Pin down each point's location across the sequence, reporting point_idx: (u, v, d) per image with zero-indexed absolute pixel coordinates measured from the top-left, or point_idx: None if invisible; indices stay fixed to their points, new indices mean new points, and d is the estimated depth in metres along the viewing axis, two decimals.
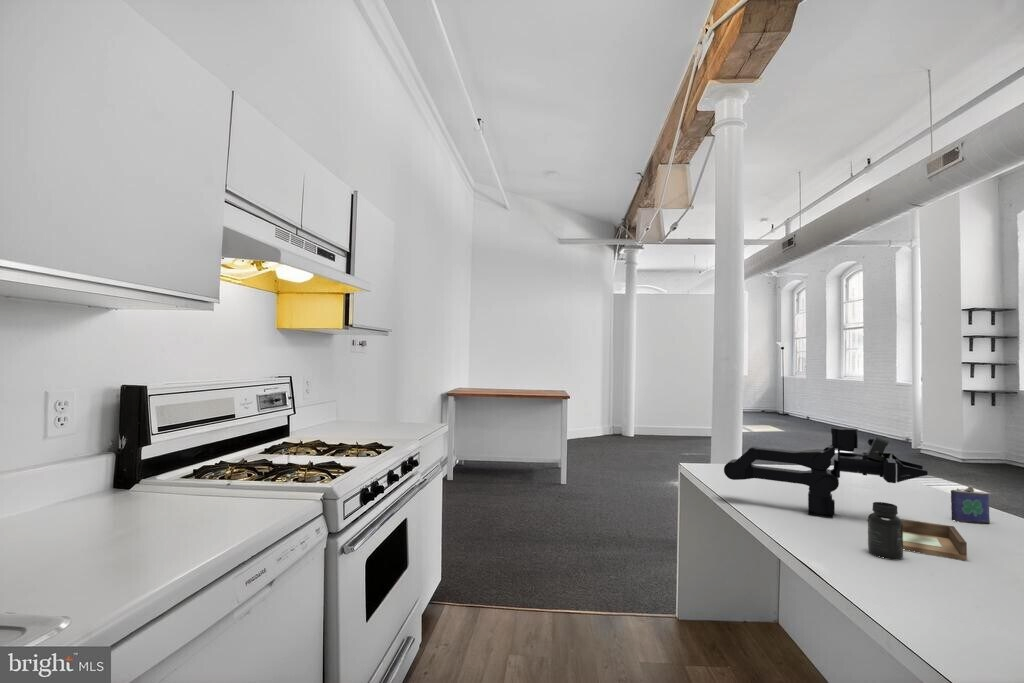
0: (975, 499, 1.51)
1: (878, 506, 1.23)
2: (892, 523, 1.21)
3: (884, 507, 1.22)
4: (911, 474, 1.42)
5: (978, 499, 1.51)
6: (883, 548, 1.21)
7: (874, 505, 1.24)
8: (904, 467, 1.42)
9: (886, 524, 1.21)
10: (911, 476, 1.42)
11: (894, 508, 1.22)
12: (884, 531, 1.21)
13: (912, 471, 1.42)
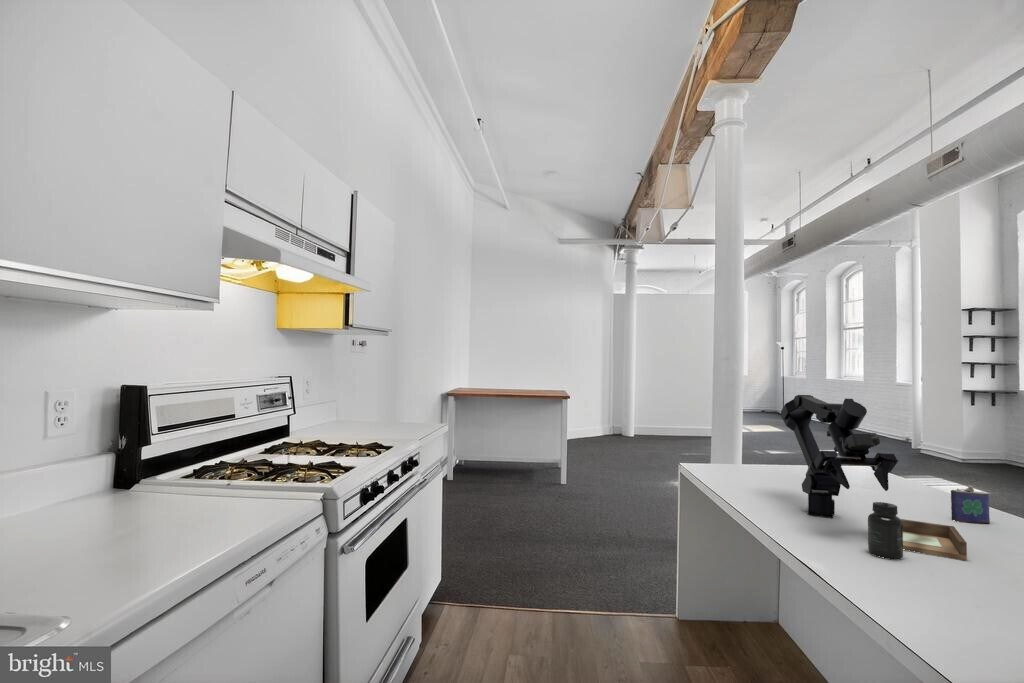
0: (975, 499, 1.51)
1: (878, 506, 1.23)
2: (892, 523, 1.21)
3: (884, 507, 1.22)
4: (837, 477, 1.36)
5: (978, 499, 1.51)
6: (883, 548, 1.21)
7: (874, 505, 1.24)
8: (835, 468, 1.36)
9: (886, 524, 1.21)
10: (836, 478, 1.37)
11: (894, 508, 1.22)
12: (884, 531, 1.21)
13: (839, 476, 1.35)
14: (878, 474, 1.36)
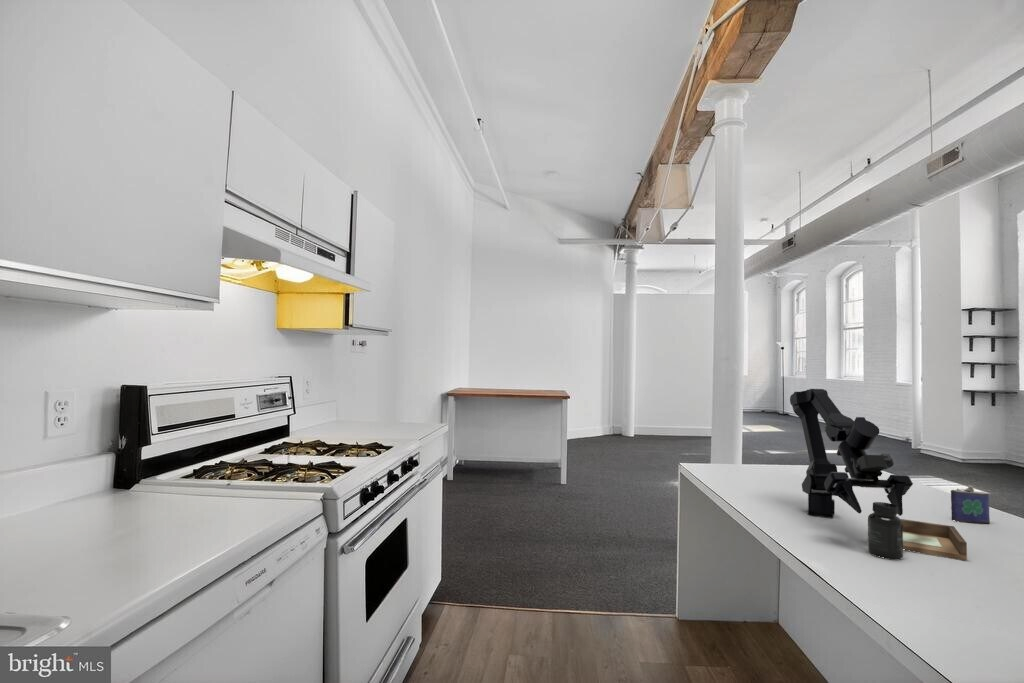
0: (975, 499, 1.51)
1: (878, 506, 1.23)
2: (892, 523, 1.21)
3: (884, 507, 1.22)
4: (848, 500, 1.30)
5: (978, 499, 1.51)
6: (883, 548, 1.21)
7: (874, 505, 1.24)
8: (846, 491, 1.30)
9: (886, 524, 1.21)
10: (847, 501, 1.30)
11: (894, 508, 1.22)
12: (884, 531, 1.21)
13: (850, 499, 1.29)
14: (891, 497, 1.30)
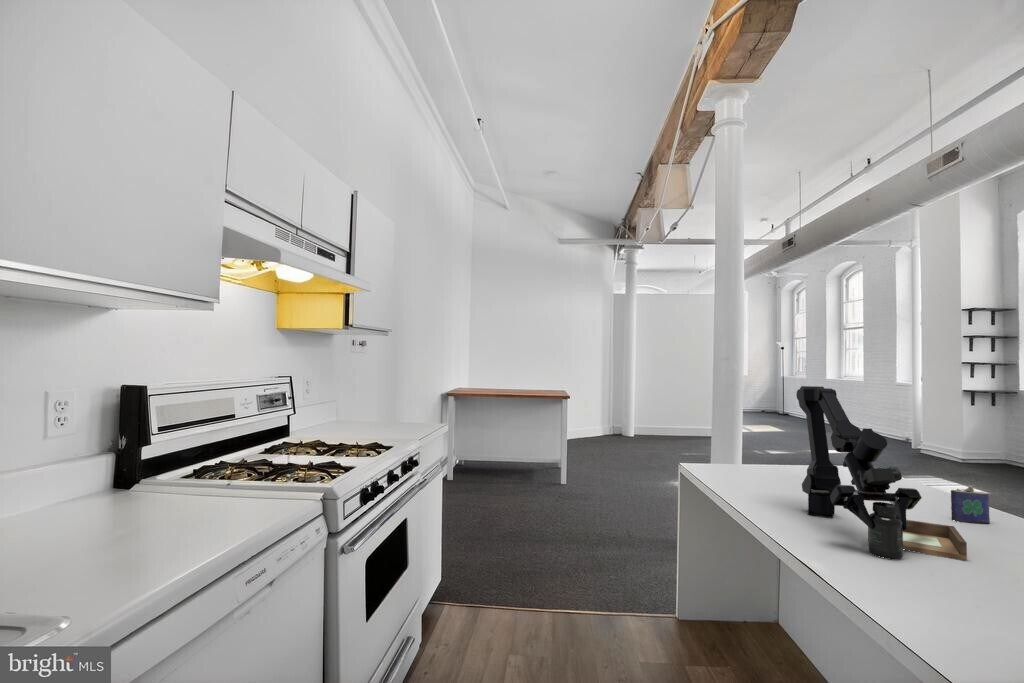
0: (975, 499, 1.51)
1: (878, 506, 1.23)
2: (892, 522, 1.21)
3: (884, 507, 1.22)
4: (859, 515, 1.26)
5: (978, 499, 1.51)
6: (883, 548, 1.21)
7: (874, 505, 1.24)
8: (857, 505, 1.26)
9: (886, 524, 1.21)
10: (858, 516, 1.27)
11: (894, 508, 1.22)
12: (884, 531, 1.21)
13: (862, 514, 1.26)
14: None
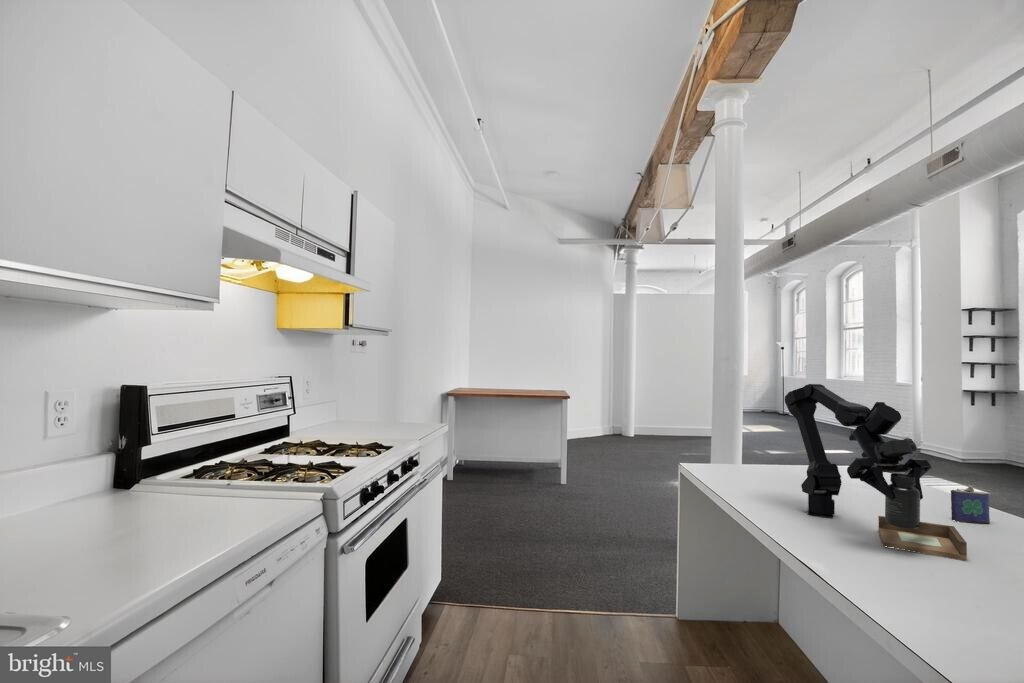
0: (975, 499, 1.51)
1: (898, 477, 1.26)
2: (913, 493, 1.24)
3: (904, 478, 1.25)
4: (878, 486, 1.28)
5: (978, 499, 1.51)
6: (904, 518, 1.24)
7: (894, 476, 1.27)
8: (877, 477, 1.28)
9: (907, 494, 1.24)
10: (877, 487, 1.29)
11: (913, 479, 1.25)
12: (905, 501, 1.24)
13: (881, 486, 1.27)
14: None
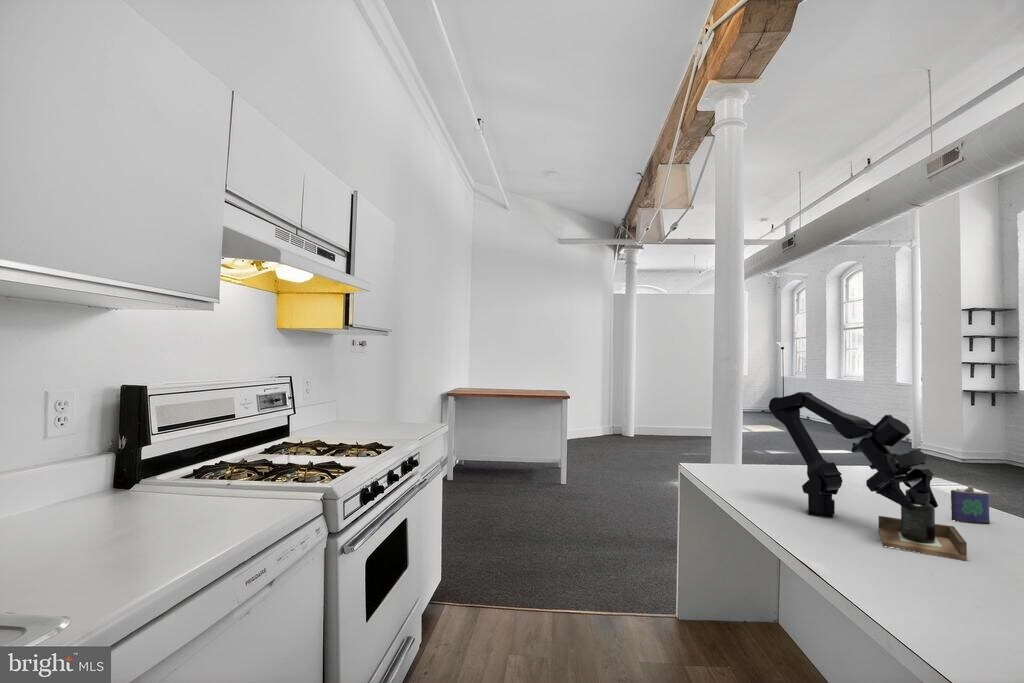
0: (975, 499, 1.51)
1: (916, 494, 1.30)
2: (931, 508, 1.29)
3: (922, 494, 1.30)
4: (896, 498, 1.31)
5: (978, 499, 1.51)
6: (925, 534, 1.28)
7: (912, 493, 1.31)
8: (895, 489, 1.31)
9: (927, 510, 1.29)
10: (894, 499, 1.32)
11: (928, 494, 1.30)
12: (926, 517, 1.28)
13: (900, 497, 1.31)
14: (919, 490, 1.36)
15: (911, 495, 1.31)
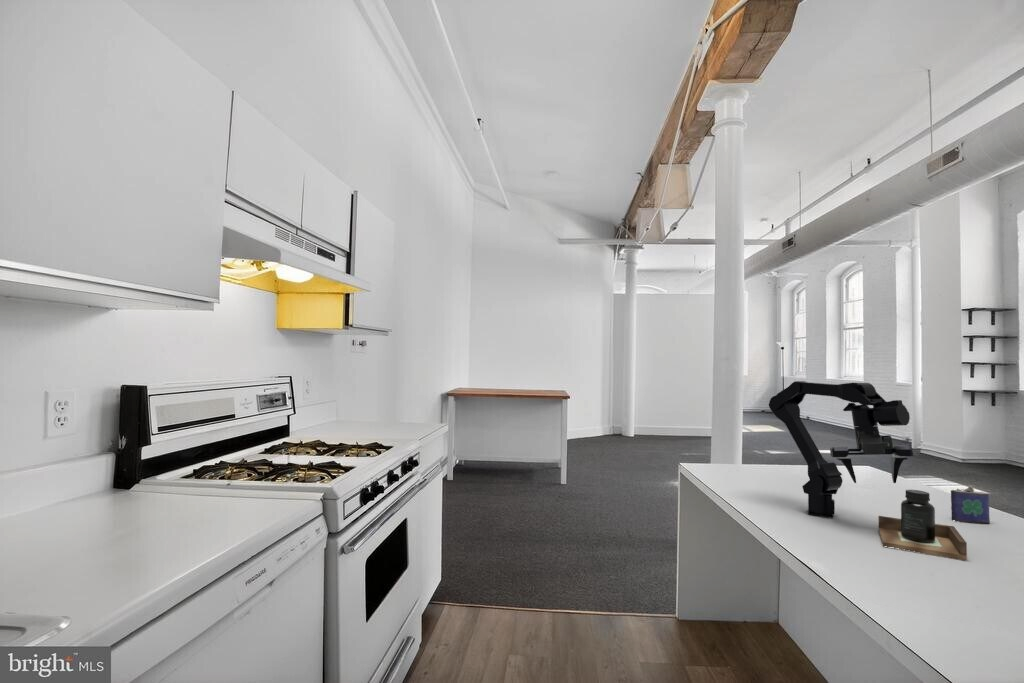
0: (975, 499, 1.51)
1: (916, 494, 1.30)
2: (931, 508, 1.29)
3: (923, 494, 1.30)
4: (847, 469, 1.47)
5: (978, 499, 1.51)
6: (925, 534, 1.28)
7: (912, 493, 1.31)
8: None
9: (927, 510, 1.29)
10: (847, 469, 1.48)
11: (928, 494, 1.30)
12: (926, 517, 1.28)
13: (849, 471, 1.47)
14: (892, 463, 1.43)
15: (911, 495, 1.31)
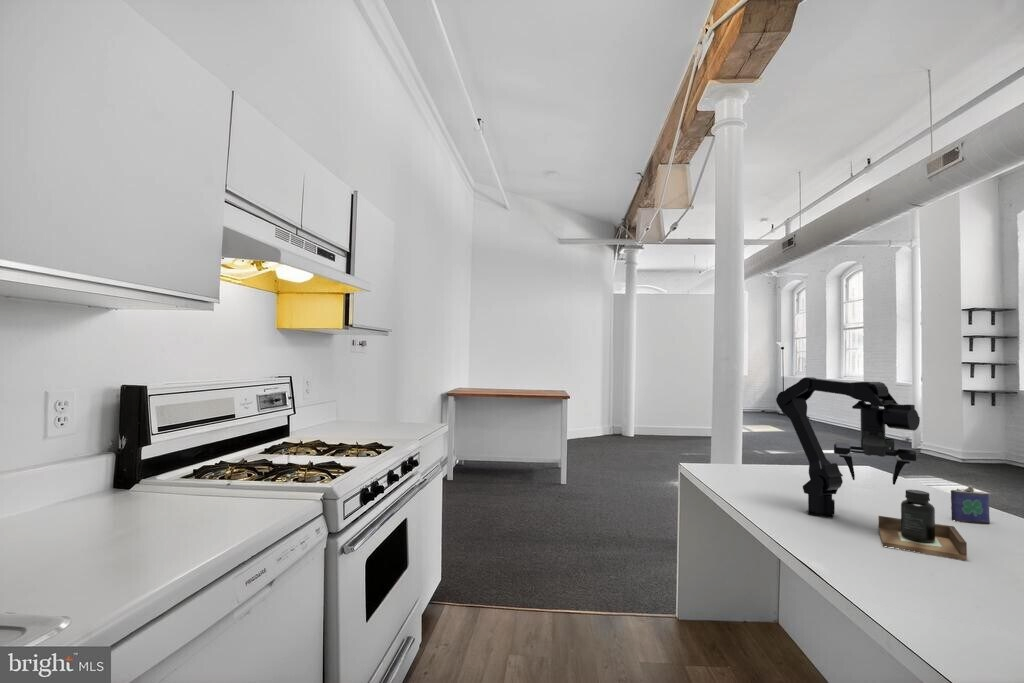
0: (975, 499, 1.51)
1: (916, 494, 1.30)
2: (931, 508, 1.29)
3: (922, 494, 1.30)
4: None
5: (978, 499, 1.51)
6: (925, 534, 1.28)
7: (912, 493, 1.31)
8: None
9: (927, 510, 1.29)
10: None
11: (928, 494, 1.30)
12: (926, 517, 1.28)
13: (849, 467, 1.47)
14: (894, 464, 1.43)
15: (911, 495, 1.31)
